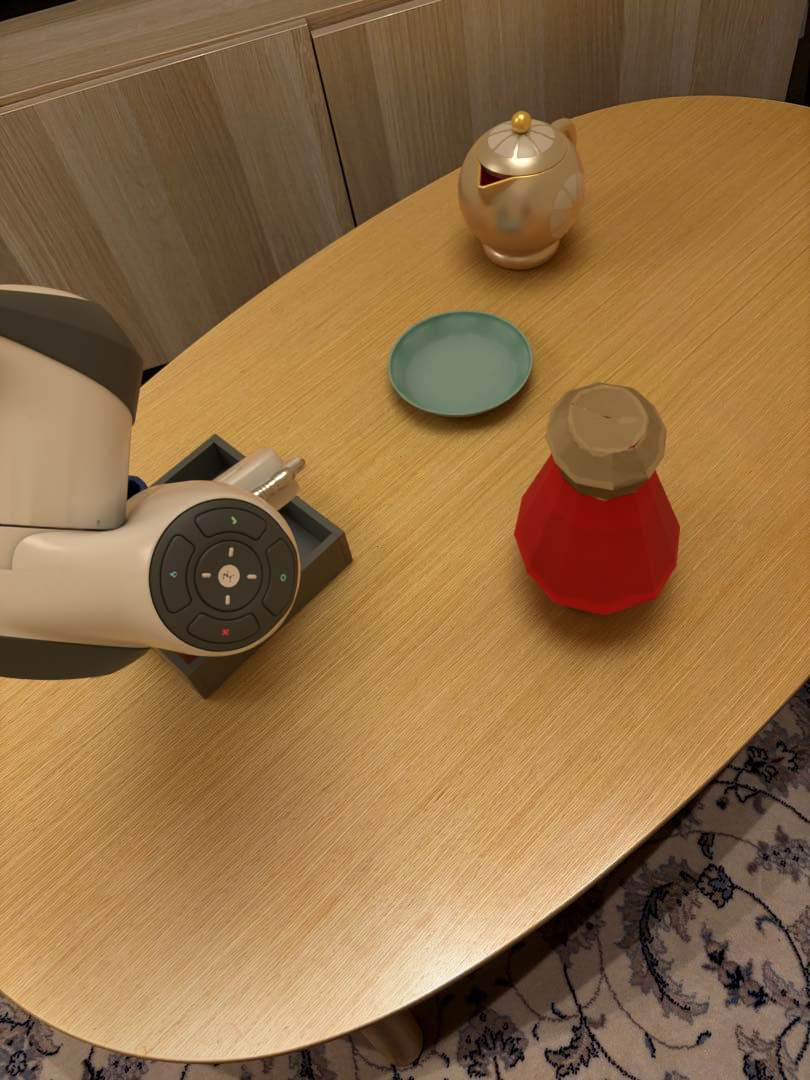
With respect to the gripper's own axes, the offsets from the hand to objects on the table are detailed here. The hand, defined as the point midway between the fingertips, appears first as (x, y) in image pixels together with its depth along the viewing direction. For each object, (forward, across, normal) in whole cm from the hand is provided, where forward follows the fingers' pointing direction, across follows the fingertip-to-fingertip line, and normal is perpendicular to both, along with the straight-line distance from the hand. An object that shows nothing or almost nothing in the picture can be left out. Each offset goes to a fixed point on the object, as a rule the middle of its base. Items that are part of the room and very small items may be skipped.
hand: (154, 543), depth 66 cm
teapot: (+21, -56, -1) cm, 60 cm away
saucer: (+14, -36, +6) cm, 39 cm away
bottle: (-4, -28, +24) cm, 37 cm away
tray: (+13, -4, +7) cm, 15 cm away
